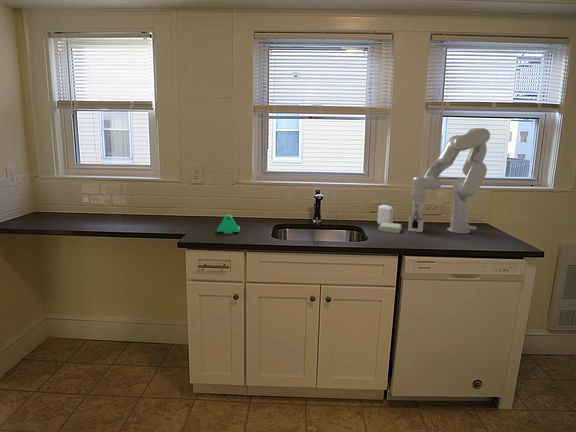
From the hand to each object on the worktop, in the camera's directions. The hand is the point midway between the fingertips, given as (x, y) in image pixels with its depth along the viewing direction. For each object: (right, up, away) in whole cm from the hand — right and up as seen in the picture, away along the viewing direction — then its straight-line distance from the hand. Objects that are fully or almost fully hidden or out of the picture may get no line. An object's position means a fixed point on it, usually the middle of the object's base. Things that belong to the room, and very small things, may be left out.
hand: (415, 226), depth 241 cm
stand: (-15, -2, +1) cm, 15 cm away
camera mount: (-109, -3, -11) cm, 110 cm away
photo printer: (-14, +1, +15) cm, 21 cm away
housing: (0, -2, 0) cm, 3 cm away
